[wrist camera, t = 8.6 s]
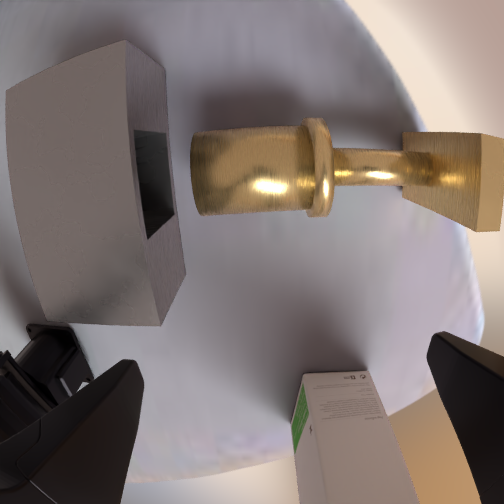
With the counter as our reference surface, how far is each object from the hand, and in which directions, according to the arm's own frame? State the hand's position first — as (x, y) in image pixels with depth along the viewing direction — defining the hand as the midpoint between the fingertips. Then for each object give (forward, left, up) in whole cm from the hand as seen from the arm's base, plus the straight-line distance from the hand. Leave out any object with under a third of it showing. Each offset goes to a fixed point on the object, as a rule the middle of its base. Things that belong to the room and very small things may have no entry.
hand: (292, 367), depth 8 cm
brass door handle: (+4, +5, -12) cm, 13 cm away
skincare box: (+5, -16, -13) cm, 21 cm away
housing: (-10, +5, -12) cm, 17 cm away
